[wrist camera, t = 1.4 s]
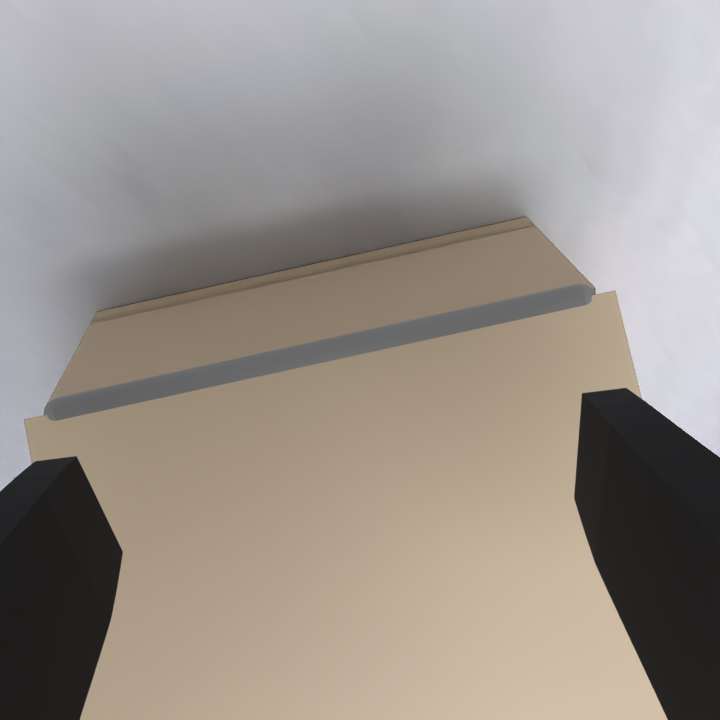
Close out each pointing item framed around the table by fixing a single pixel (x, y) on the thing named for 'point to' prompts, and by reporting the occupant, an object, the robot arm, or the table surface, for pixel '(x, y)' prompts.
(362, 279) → the box
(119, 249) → the table surface
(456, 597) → the lid
